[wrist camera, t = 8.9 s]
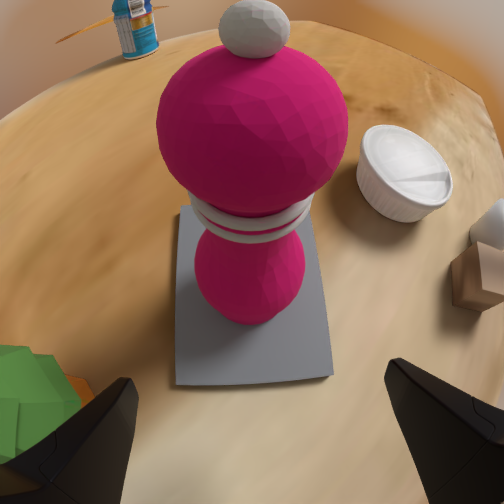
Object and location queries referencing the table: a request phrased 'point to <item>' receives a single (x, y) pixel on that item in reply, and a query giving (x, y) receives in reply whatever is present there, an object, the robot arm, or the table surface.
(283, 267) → the pepper mill
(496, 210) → the grey canister
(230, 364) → the slate board
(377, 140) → the ramekin
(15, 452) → the decorative tree
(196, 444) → the table surface
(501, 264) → the walnut block
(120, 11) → the beverage bottle
